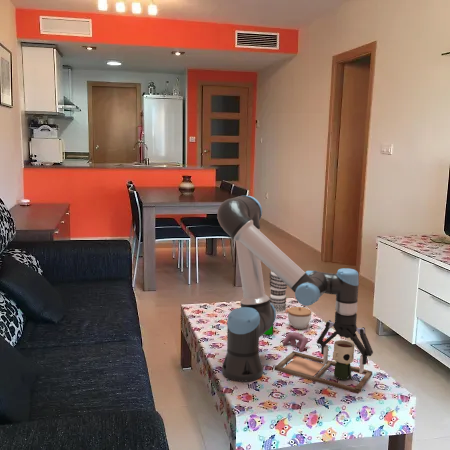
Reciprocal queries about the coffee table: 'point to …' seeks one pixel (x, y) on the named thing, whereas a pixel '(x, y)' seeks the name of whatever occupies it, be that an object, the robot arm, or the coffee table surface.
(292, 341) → the video game controller
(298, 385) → the coffee table surface
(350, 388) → the rail frame
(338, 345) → the character mug
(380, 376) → the coffee table surface
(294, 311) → the lidded jar
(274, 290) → the decorative candle
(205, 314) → the coffee table surface
